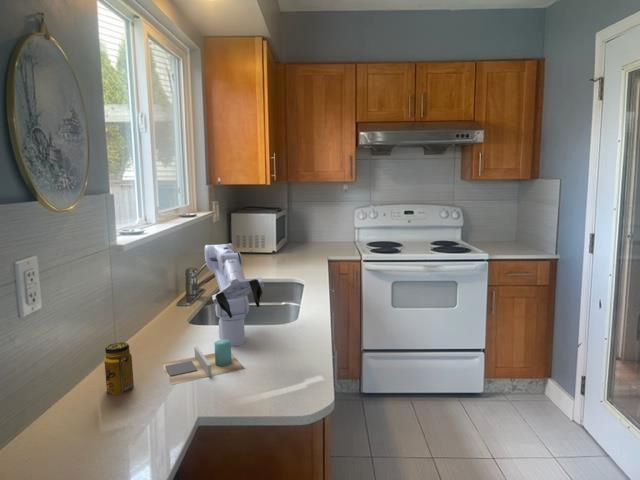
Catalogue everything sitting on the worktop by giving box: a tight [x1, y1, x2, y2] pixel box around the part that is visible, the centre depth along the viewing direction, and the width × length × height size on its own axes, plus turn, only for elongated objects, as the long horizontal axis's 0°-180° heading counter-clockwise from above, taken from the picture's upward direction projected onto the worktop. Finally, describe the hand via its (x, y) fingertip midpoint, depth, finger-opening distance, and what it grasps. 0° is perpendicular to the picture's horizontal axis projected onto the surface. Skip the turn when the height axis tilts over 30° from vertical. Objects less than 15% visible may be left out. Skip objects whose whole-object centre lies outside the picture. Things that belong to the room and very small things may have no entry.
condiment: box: [103, 341, 135, 396], centre depth 108 cm, size 7×8×12 cm
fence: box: [194, 346, 212, 378], centre depth 121 cm, size 15×1×3 cm, turn 28°
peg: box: [213, 339, 232, 366], centre depth 122 cm, size 4×4×6 cm
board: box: [161, 352, 246, 386], centre depth 121 cm, size 15×19×1 cm
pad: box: [165, 361, 197, 377], centre depth 119 cm, size 7×7×1 cm
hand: (243, 309), depth 118 cm, fingers open, 7 cm apart
